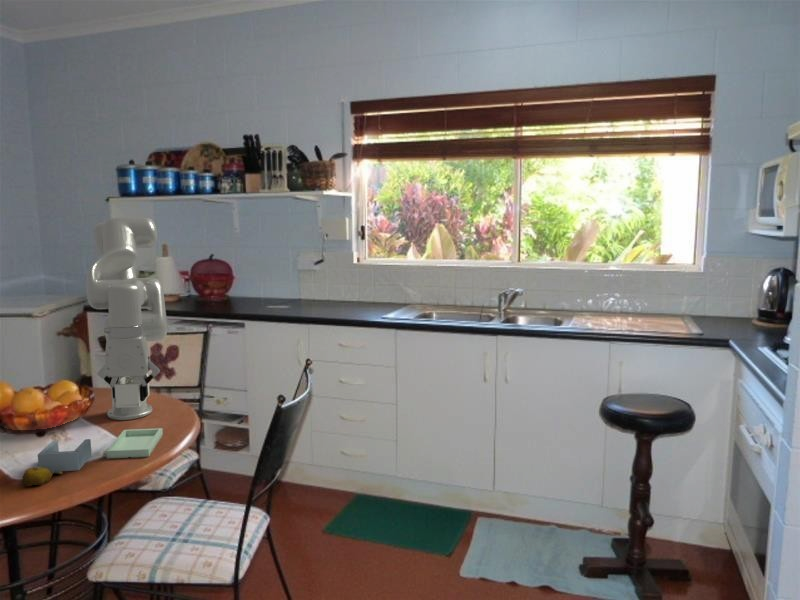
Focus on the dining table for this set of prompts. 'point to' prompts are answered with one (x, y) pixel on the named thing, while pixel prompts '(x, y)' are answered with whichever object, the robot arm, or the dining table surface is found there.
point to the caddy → (128, 392)
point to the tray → (135, 443)
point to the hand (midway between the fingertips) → (130, 399)
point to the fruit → (37, 476)
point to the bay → (64, 457)
